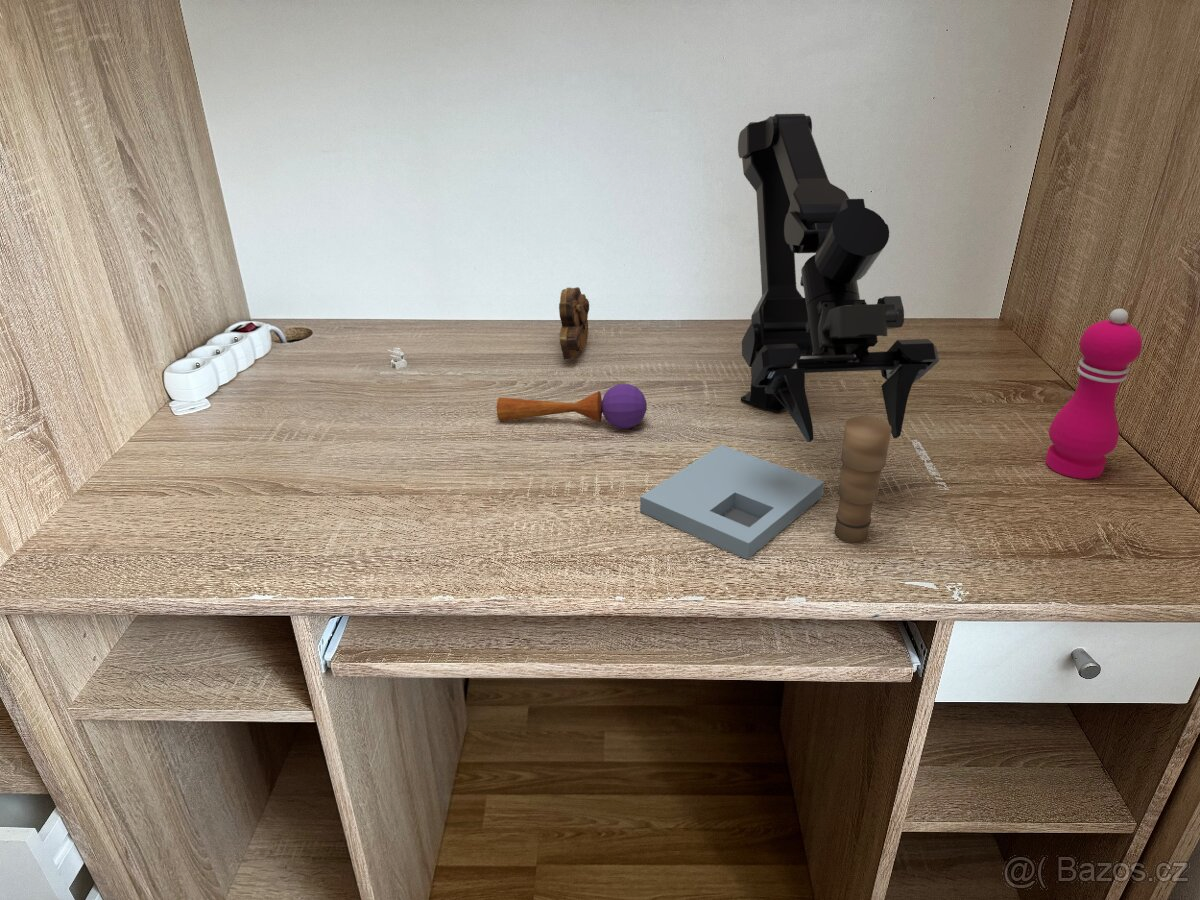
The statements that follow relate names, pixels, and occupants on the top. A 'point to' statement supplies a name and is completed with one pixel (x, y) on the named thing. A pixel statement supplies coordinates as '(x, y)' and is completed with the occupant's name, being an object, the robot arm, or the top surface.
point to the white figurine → (398, 358)
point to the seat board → (732, 500)
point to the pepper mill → (1094, 399)
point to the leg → (860, 475)
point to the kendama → (583, 407)
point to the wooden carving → (573, 322)
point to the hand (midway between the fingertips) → (853, 439)
